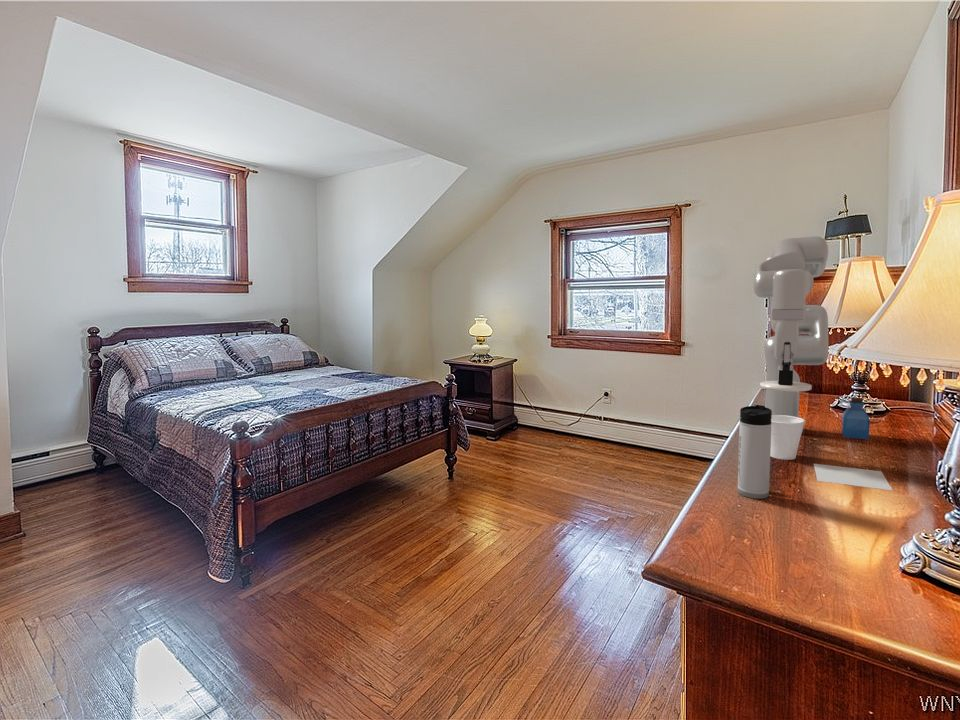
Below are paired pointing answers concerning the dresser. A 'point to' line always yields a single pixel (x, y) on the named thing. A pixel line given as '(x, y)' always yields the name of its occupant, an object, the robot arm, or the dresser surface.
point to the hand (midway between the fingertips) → (785, 383)
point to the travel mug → (754, 451)
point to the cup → (785, 436)
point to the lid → (794, 387)
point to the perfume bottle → (856, 420)
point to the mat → (851, 476)
